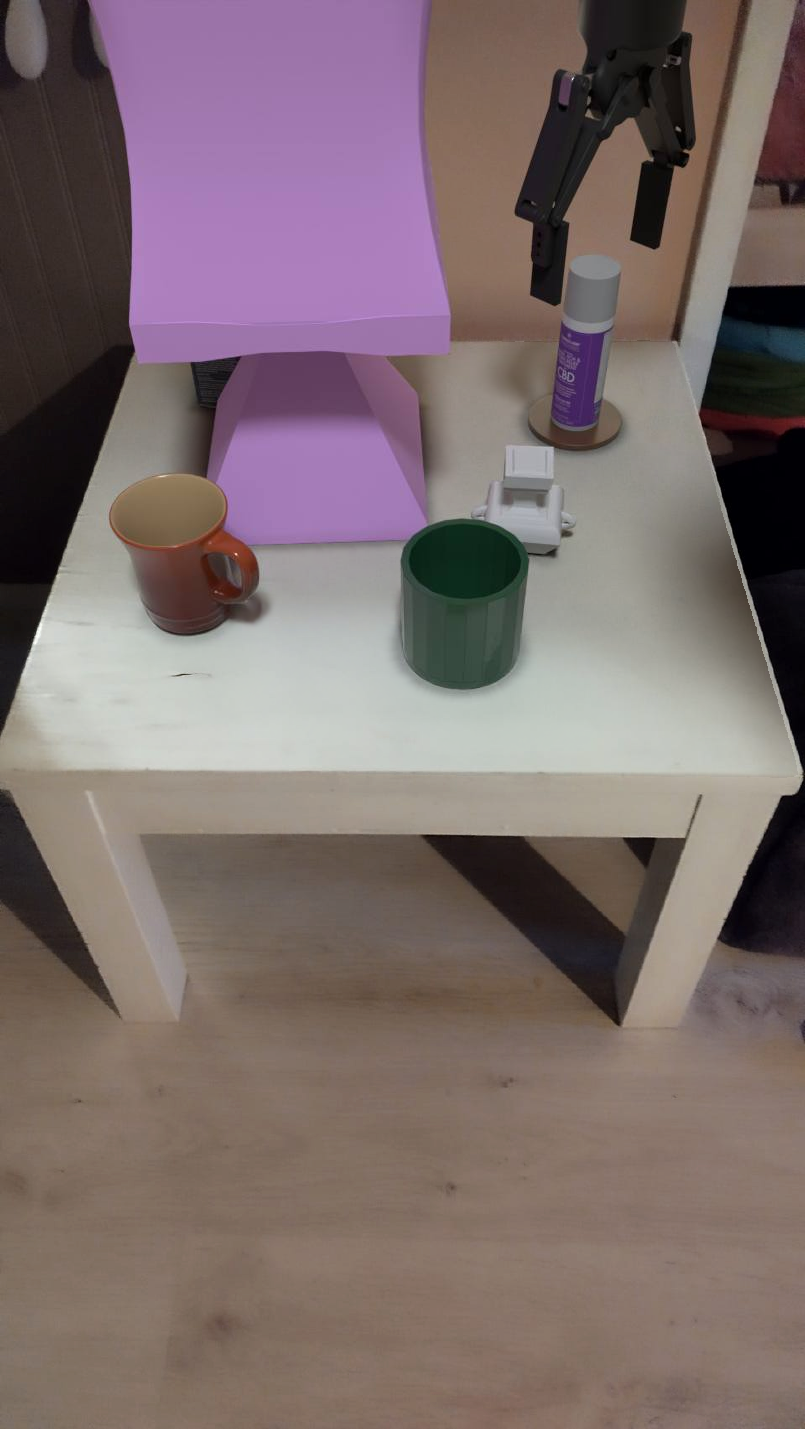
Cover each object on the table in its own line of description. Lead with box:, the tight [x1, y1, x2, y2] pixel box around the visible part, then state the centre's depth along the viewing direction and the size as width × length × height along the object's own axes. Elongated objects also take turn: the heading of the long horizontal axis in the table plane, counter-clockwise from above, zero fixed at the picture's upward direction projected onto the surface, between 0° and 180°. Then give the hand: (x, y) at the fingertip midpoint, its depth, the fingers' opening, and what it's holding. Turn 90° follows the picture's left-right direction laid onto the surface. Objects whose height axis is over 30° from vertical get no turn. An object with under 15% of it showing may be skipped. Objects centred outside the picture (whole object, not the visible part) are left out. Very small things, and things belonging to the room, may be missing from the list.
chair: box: [87, 0, 451, 546], centre depth 77 cm, size 22×22×45 cm
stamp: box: [470, 444, 578, 555], centre depth 85 cm, size 9×7×8 cm
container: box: [551, 253, 622, 431], centre depth 92 cm, size 5×5×15 cm
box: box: [189, 356, 242, 409], centre depth 99 cm, size 8×6×11 cm
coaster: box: [527, 393, 623, 452], centre depth 98 cm, size 9×9×1 cm
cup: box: [399, 517, 530, 690], centre depth 76 cm, size 9×9×9 cm
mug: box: [108, 472, 260, 634], centre depth 78 cm, size 12×9×10 cm
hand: (596, 271), depth 87 cm, fingers open, 13 cm apart
